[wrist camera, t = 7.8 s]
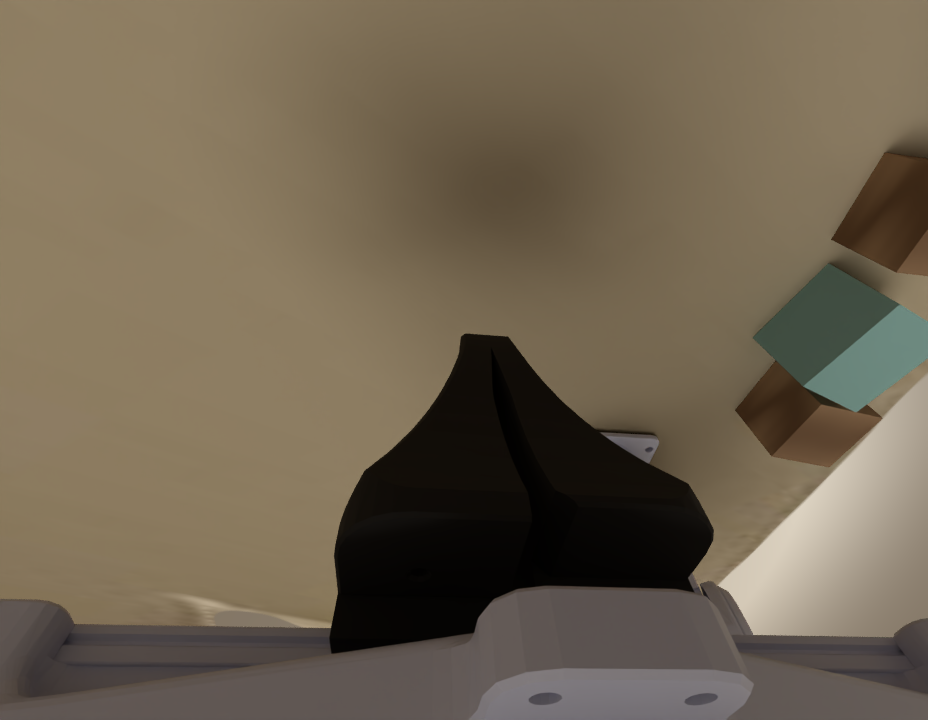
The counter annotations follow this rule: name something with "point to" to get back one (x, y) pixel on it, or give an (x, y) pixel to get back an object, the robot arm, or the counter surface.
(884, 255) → the brown cube
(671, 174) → the counter surface
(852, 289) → the teal block
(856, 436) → the reddish brown cubic block
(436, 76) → the counter surface
